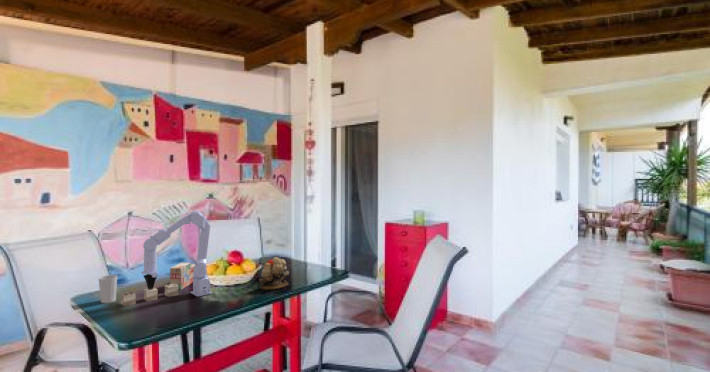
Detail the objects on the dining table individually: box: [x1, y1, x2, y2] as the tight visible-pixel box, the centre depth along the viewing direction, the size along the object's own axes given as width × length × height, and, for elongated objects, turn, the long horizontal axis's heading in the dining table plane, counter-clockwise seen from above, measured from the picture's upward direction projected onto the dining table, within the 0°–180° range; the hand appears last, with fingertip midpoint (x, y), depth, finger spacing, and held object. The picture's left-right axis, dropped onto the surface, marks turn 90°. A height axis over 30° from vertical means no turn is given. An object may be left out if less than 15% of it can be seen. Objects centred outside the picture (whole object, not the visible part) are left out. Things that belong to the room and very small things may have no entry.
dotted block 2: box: [164, 284, 179, 298], centre depth 196 cm, size 5×5×5 cm
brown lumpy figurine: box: [259, 256, 290, 291], centre depth 211 cm, size 18×12×17 cm, turn 134°
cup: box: [98, 274, 118, 304], centre depth 186 cm, size 8×8×12 cm
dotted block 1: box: [120, 291, 137, 307], centre depth 182 cm, size 5×5×5 cm
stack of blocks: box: [169, 262, 196, 291], centre depth 215 cm, size 21×6×12 cm, turn 179°
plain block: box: [143, 286, 159, 302], centre depth 189 cm, size 5×5×5 cm
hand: (150, 288), depth 189 cm, fingers closed
